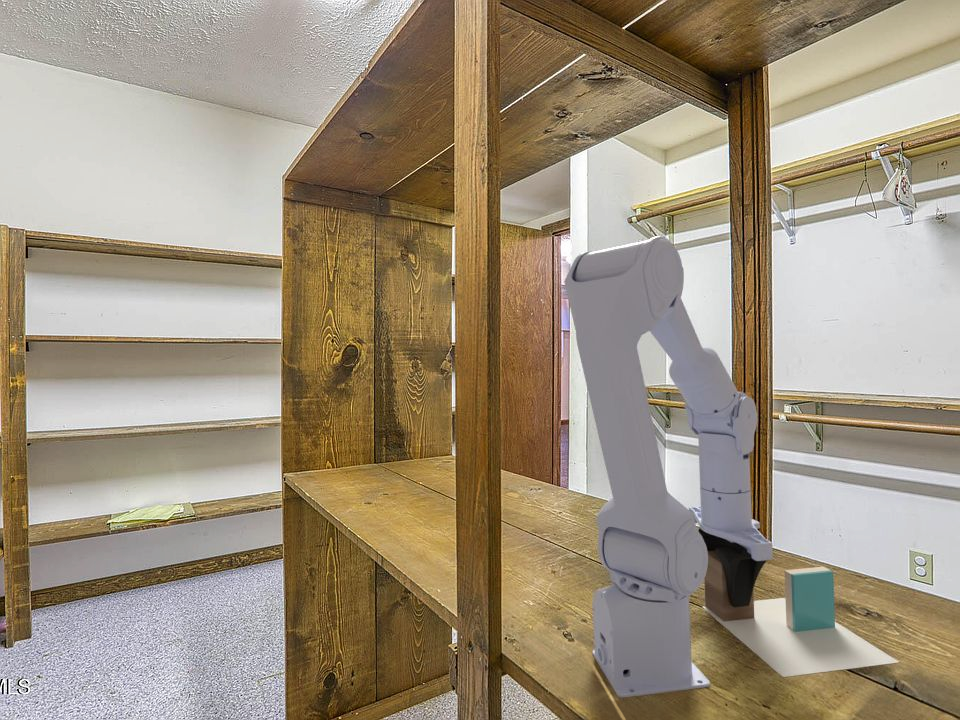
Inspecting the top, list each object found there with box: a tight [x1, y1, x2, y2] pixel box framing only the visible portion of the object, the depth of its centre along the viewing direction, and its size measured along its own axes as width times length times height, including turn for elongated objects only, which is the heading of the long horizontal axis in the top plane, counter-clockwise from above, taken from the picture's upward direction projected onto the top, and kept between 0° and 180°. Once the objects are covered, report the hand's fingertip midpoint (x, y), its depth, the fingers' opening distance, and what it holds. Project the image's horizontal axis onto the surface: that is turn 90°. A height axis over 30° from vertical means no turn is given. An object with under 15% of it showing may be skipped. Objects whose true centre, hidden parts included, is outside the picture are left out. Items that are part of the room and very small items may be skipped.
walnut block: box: [703, 550, 755, 622], centre depth 66 cm, size 4×4×7 cm
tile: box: [784, 566, 836, 632], centre depth 62 cm, size 5×2×6 cm, turn 97°
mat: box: [701, 597, 900, 678], centre depth 61 cm, size 13×15×1 cm
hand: (728, 596), depth 66 cm, fingers closed on walnut block, 4 cm apart
